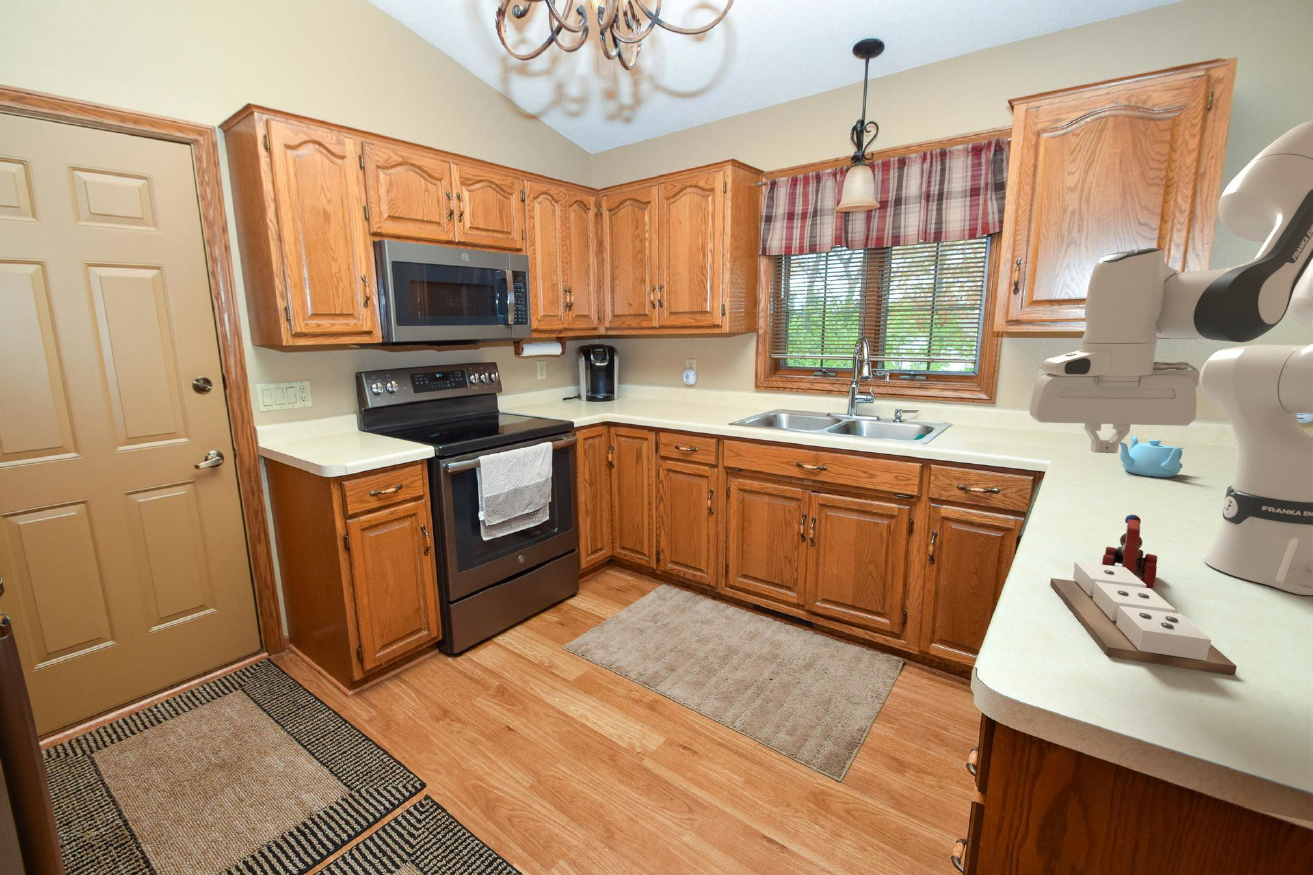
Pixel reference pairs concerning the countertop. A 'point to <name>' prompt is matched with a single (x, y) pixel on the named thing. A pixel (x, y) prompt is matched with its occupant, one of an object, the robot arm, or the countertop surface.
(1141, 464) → the teapot
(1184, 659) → the walnut board
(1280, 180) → the robot arm
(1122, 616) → the three-pip tile
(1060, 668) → the countertop surface
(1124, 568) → the one-pip tile
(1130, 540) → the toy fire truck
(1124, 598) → the two-pip tile
